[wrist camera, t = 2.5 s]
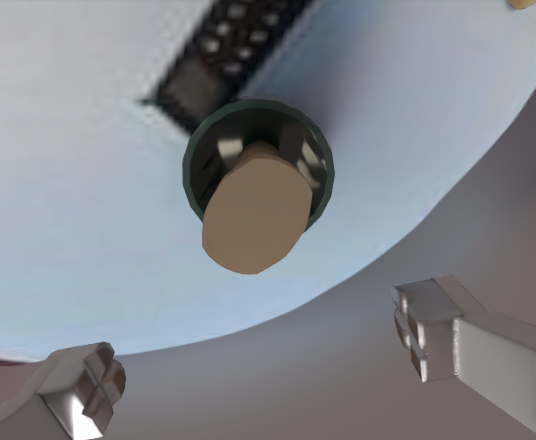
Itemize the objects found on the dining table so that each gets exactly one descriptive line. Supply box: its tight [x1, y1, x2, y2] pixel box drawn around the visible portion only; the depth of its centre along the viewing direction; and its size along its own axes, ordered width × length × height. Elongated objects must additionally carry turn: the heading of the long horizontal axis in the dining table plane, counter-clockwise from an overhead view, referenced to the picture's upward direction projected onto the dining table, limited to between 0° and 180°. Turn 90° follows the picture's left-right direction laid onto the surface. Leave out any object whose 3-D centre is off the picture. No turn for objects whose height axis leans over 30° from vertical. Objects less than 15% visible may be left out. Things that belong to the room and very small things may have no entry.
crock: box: [182, 94, 335, 233], centre depth 27 cm, size 11×11×8 cm
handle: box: [202, 139, 313, 274], centre depth 23 cm, size 5×6×15 cm
